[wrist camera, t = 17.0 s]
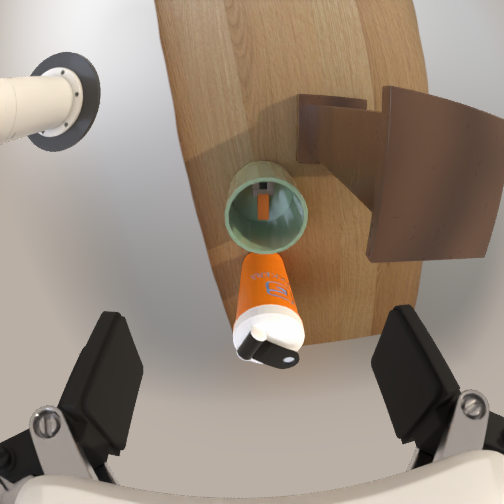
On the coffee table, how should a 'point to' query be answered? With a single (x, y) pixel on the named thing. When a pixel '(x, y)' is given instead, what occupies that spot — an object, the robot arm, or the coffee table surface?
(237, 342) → the shaker bottle
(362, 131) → the stand
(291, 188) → the green cup
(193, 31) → the coffee table surface
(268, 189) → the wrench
